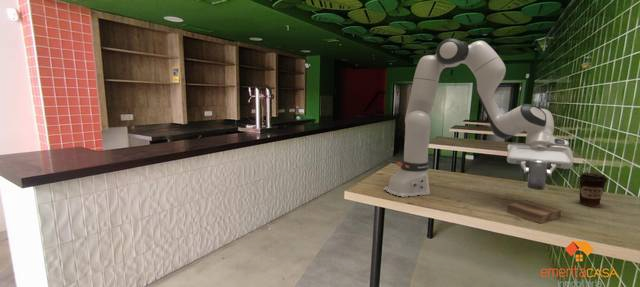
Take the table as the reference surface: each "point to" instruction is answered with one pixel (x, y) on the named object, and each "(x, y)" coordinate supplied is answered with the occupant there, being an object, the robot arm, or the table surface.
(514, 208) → the base block
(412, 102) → the robot arm
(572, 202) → the table surface
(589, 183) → the coffee cup
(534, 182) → the tin
